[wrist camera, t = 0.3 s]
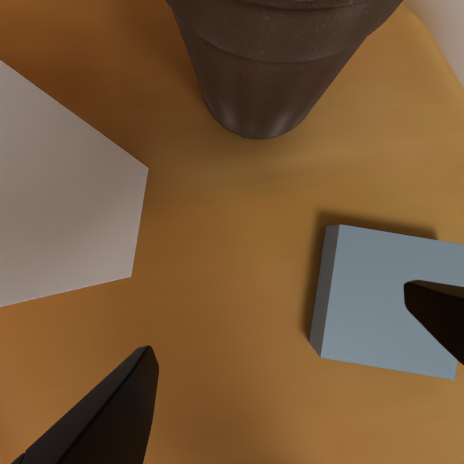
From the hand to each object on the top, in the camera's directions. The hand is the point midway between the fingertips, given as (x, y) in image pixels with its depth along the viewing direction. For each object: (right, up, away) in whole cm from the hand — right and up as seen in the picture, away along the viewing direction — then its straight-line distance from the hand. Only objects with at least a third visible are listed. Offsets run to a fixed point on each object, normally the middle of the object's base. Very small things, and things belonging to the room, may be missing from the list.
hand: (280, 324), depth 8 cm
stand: (+13, -3, +15) cm, 20 cm away
